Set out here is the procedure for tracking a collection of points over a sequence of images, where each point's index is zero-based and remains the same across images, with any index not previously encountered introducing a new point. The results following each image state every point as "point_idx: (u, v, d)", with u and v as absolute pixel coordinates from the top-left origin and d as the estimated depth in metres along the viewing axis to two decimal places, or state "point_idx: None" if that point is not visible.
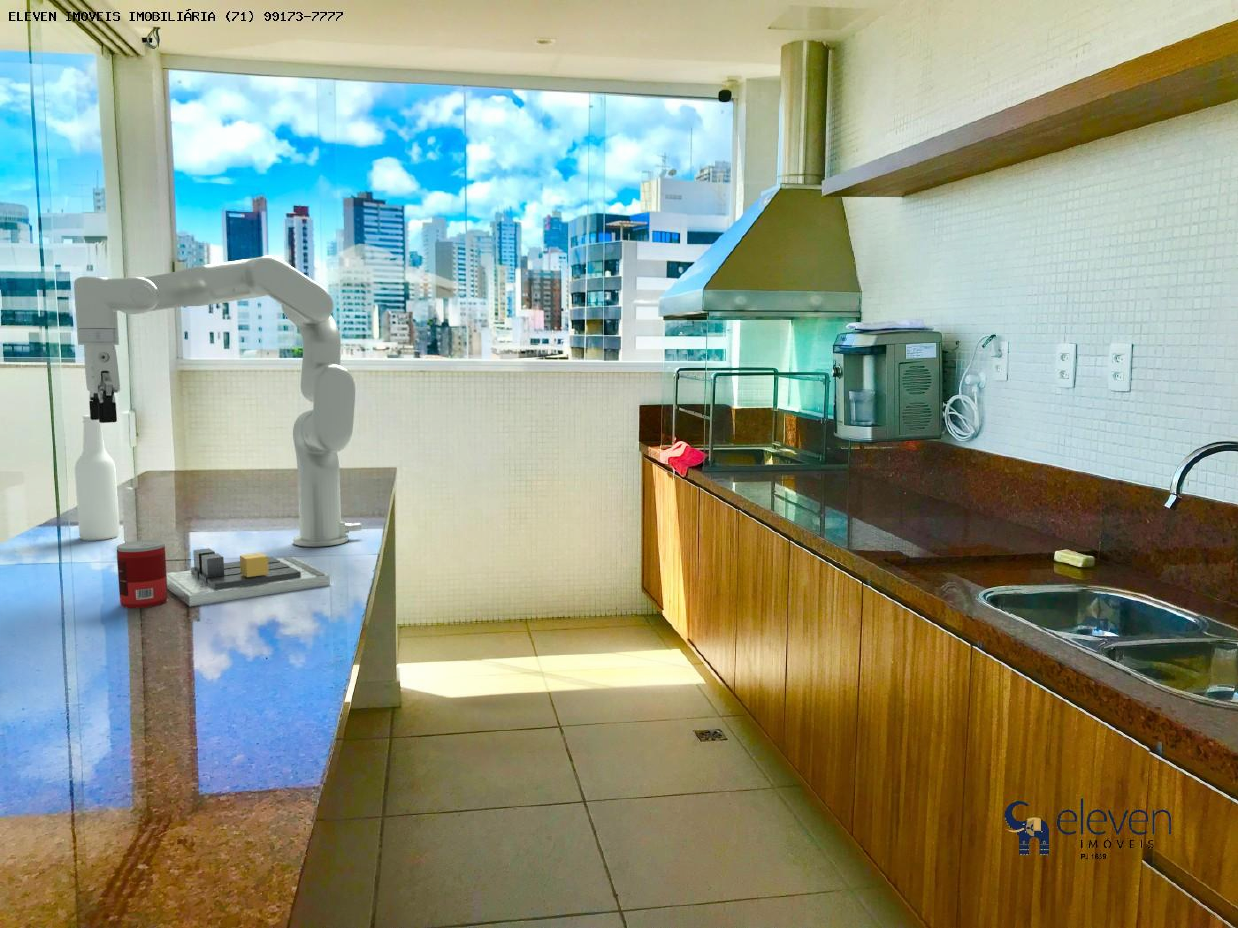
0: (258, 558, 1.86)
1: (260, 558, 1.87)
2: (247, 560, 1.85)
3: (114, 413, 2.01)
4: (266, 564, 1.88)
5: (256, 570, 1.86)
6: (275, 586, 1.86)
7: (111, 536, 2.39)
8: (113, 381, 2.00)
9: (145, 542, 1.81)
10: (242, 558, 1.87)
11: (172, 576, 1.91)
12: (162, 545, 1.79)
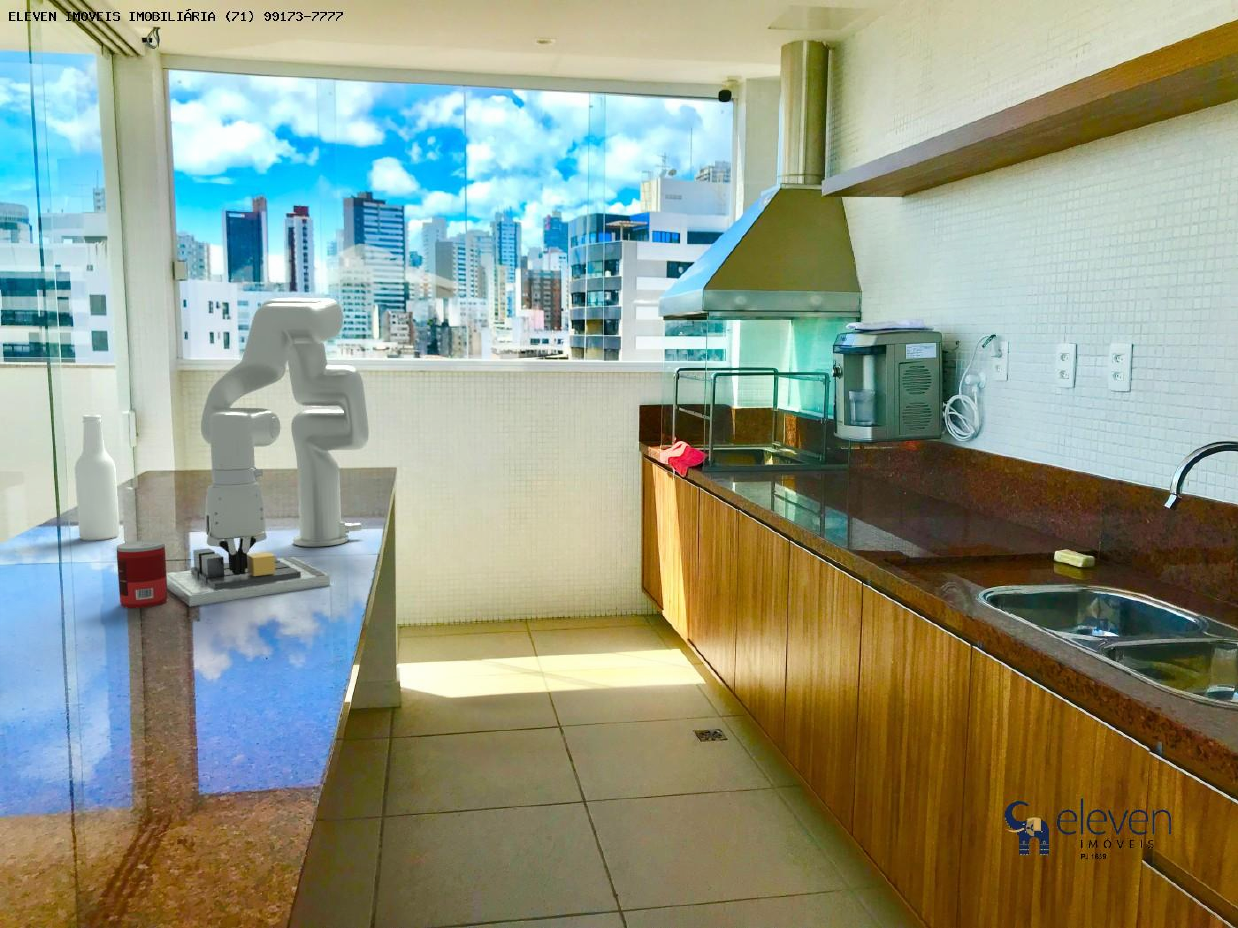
0: (265, 557, 1.87)
1: (267, 557, 1.87)
2: (254, 559, 1.86)
3: None
4: (273, 563, 1.88)
5: (263, 569, 1.87)
6: (275, 586, 1.86)
7: (111, 536, 2.39)
8: None
9: (145, 542, 1.81)
10: (249, 557, 1.88)
11: (172, 576, 1.91)
12: (162, 545, 1.79)
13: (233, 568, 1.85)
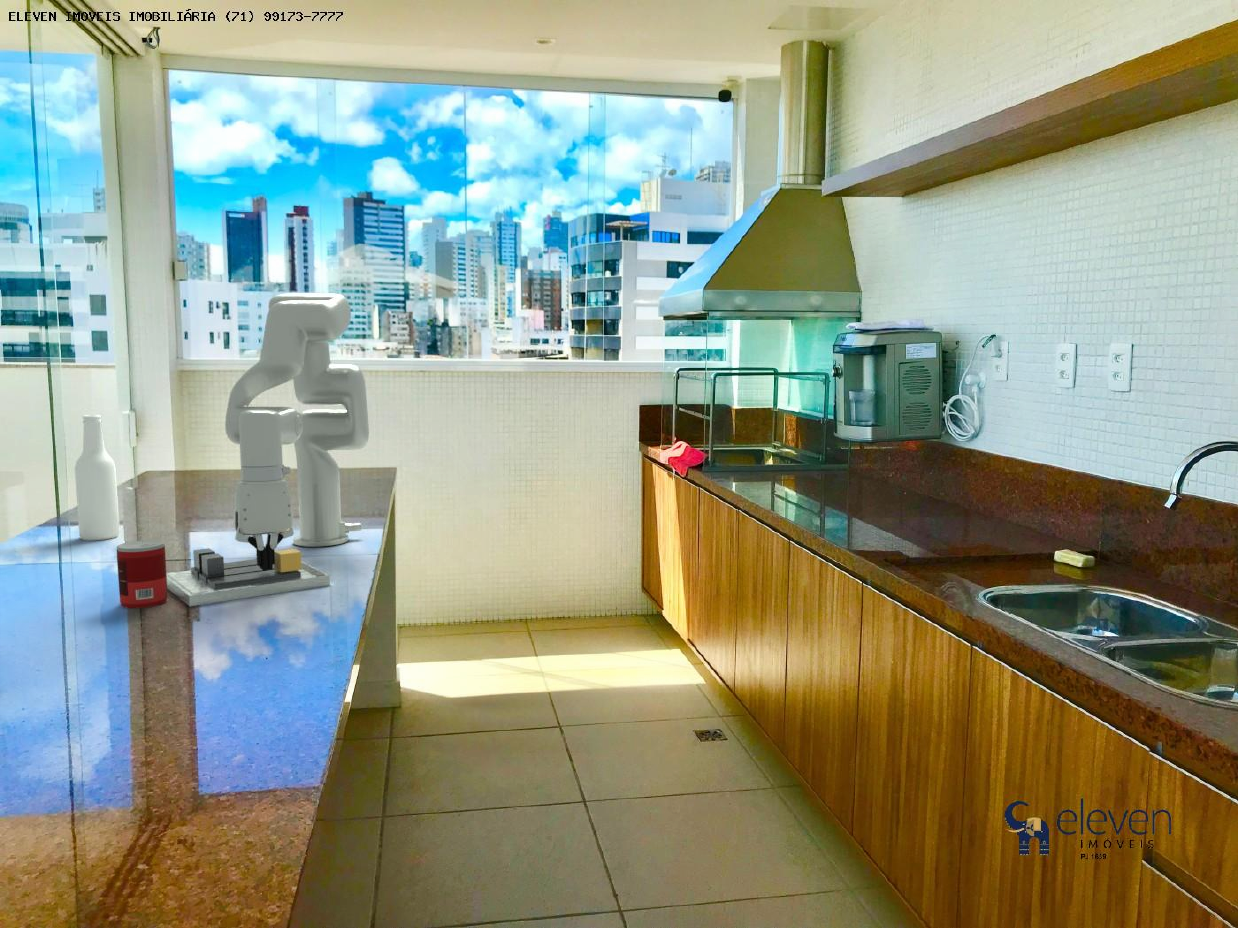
0: (292, 554, 1.90)
1: (294, 554, 1.91)
2: (281, 556, 1.89)
3: None
4: (299, 560, 1.91)
5: (290, 565, 1.90)
6: (275, 586, 1.86)
7: (111, 536, 2.39)
8: None
9: (145, 542, 1.81)
10: (276, 554, 1.91)
11: (172, 576, 1.91)
12: (162, 545, 1.79)
13: (261, 564, 1.88)
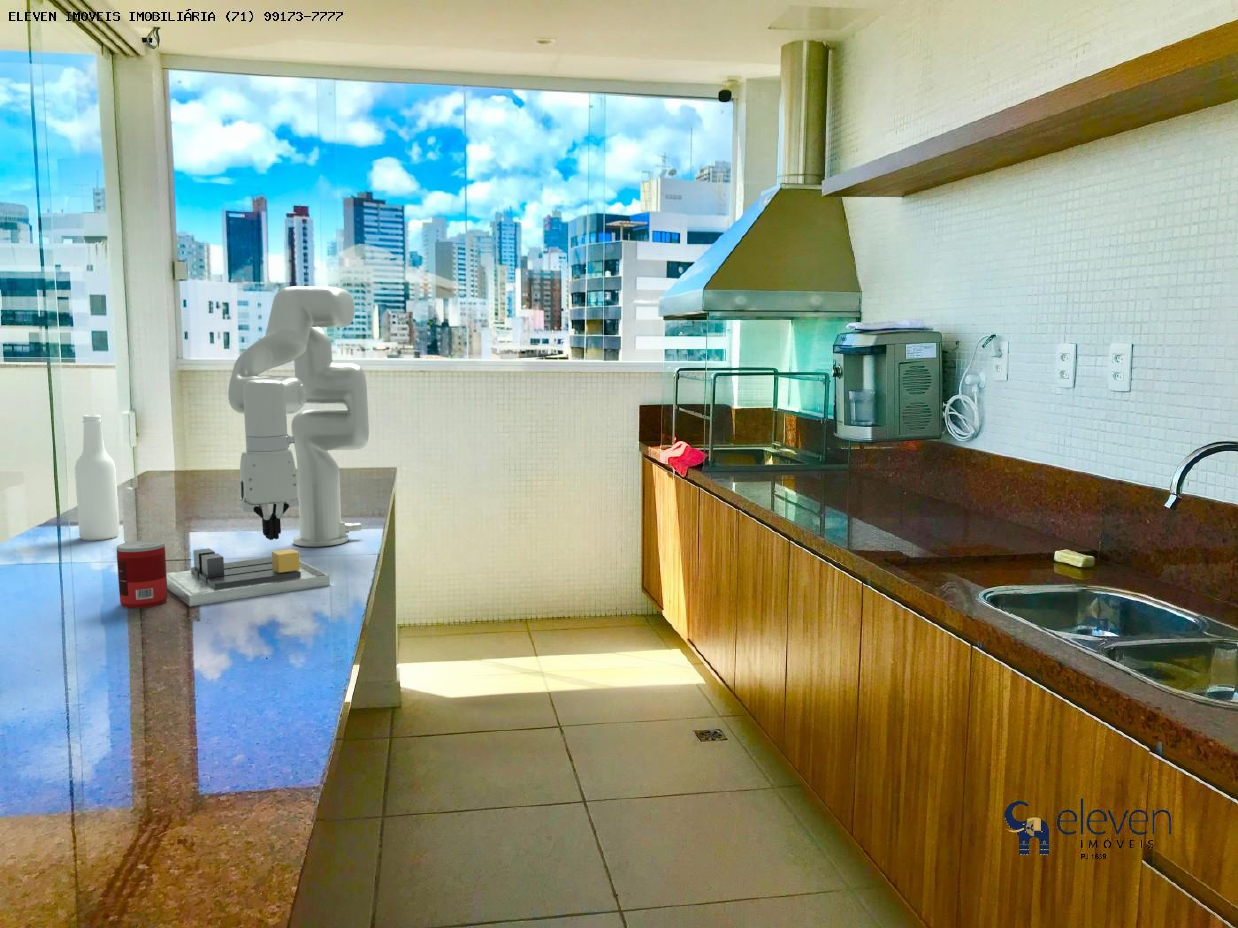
0: (290, 554, 1.90)
1: (292, 554, 1.90)
2: (279, 556, 1.89)
3: None
4: (297, 560, 1.91)
5: (288, 565, 1.90)
6: (275, 586, 1.86)
7: (111, 536, 2.39)
8: None
9: (145, 542, 1.81)
10: (274, 554, 1.91)
11: (172, 576, 1.91)
12: (162, 545, 1.79)
13: (267, 533, 1.89)
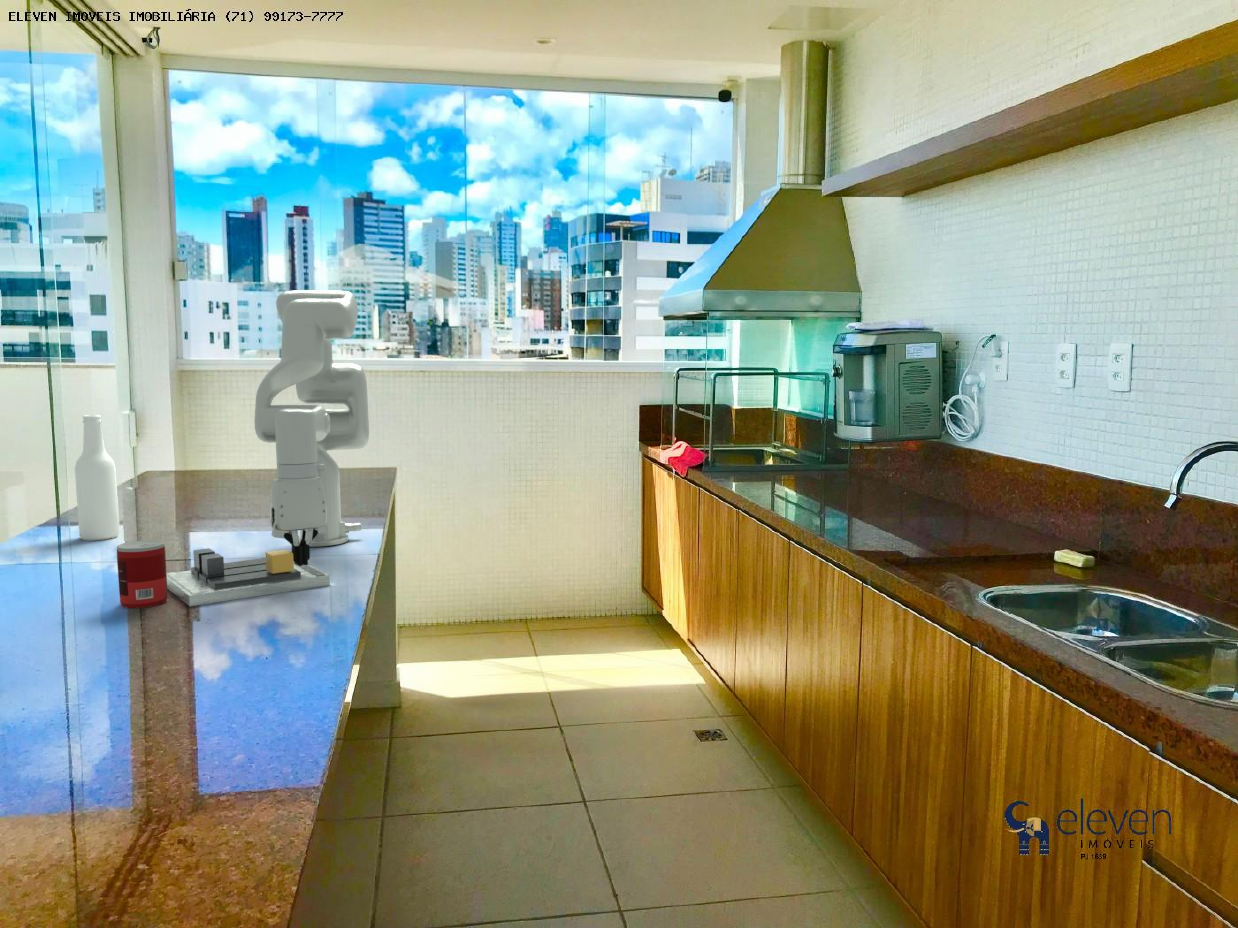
0: (284, 555, 1.89)
1: (286, 555, 1.90)
2: (273, 557, 1.88)
3: None
4: (291, 561, 1.90)
5: (282, 566, 1.89)
6: (275, 586, 1.86)
7: (111, 536, 2.39)
8: None
9: (145, 542, 1.81)
10: (268, 555, 1.90)
11: (172, 576, 1.91)
12: (162, 545, 1.79)
13: (296, 559, 1.92)
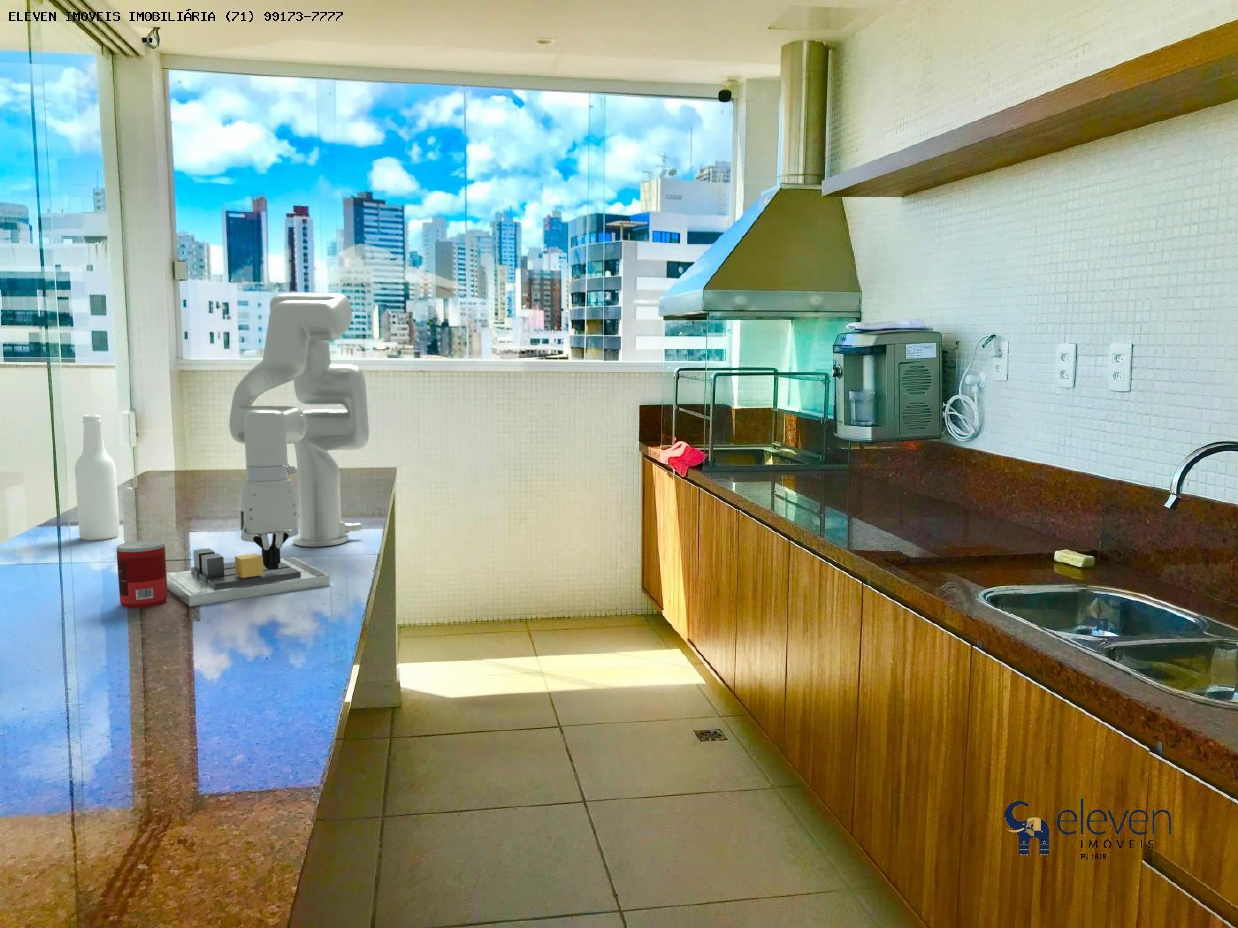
0: (253, 559, 1.86)
1: (255, 559, 1.86)
2: (242, 561, 1.85)
3: None
4: (261, 565, 1.87)
5: (251, 570, 1.86)
6: (275, 586, 1.86)
7: (111, 536, 2.39)
8: None
9: (145, 542, 1.81)
10: (237, 559, 1.86)
11: (172, 576, 1.91)
12: (162, 545, 1.79)
13: (266, 563, 1.89)
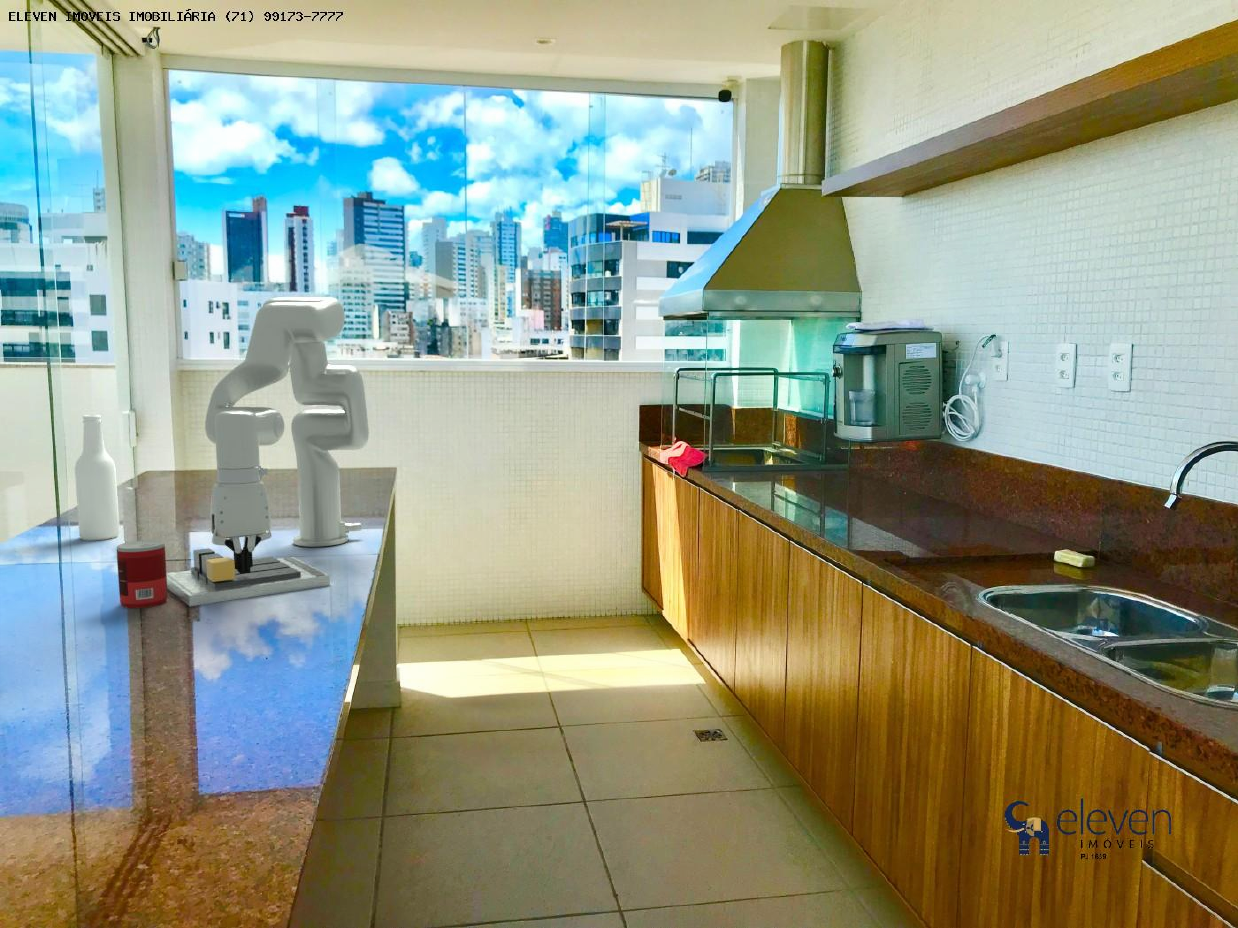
0: (224, 562, 1.83)
1: (226, 562, 1.83)
2: (213, 564, 1.82)
3: None
4: (233, 568, 1.84)
5: (223, 574, 1.83)
6: (275, 586, 1.86)
7: (111, 536, 2.39)
8: None
9: (145, 542, 1.81)
10: (208, 562, 1.83)
11: (172, 576, 1.91)
12: (162, 545, 1.79)
13: (238, 567, 1.86)
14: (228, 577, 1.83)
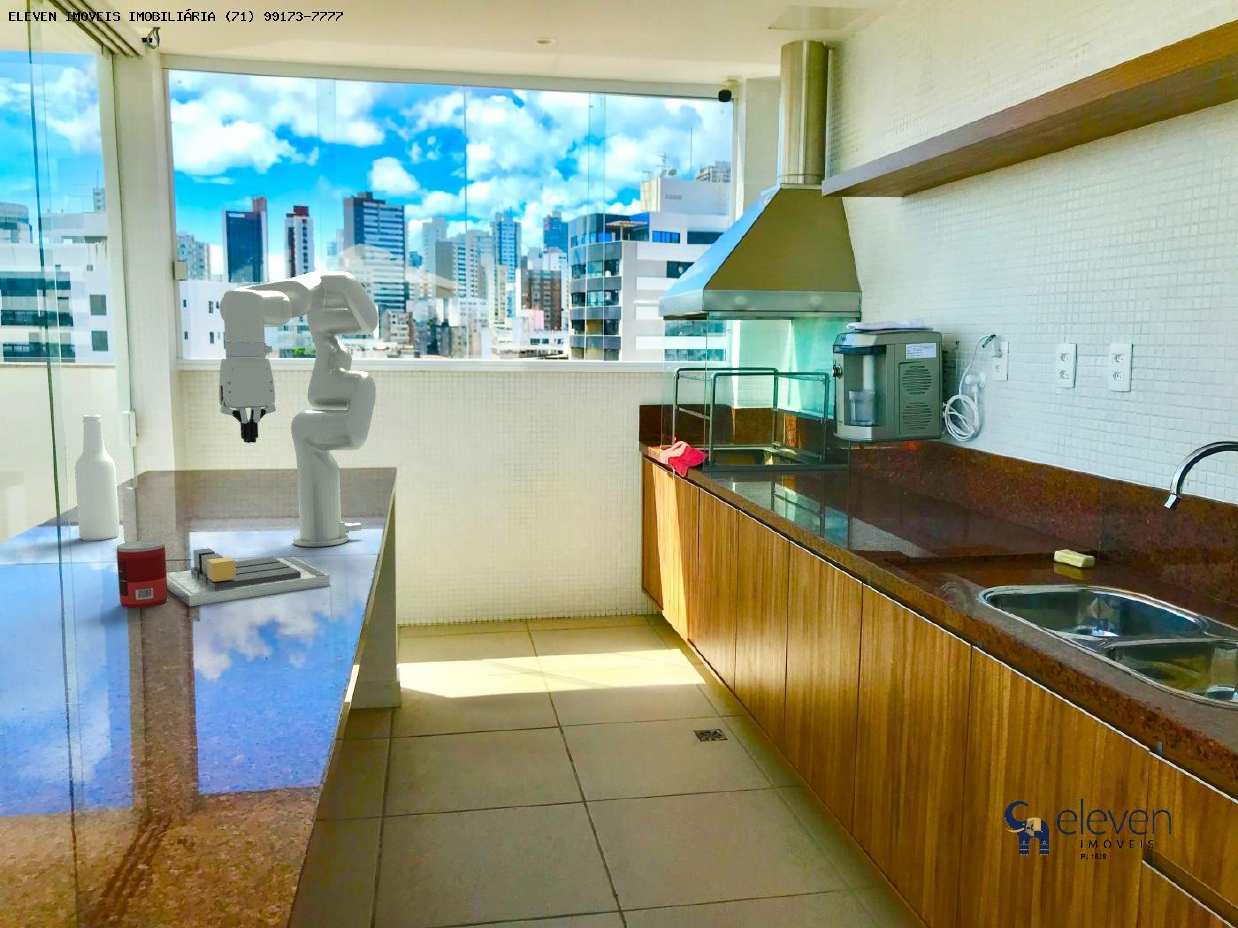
0: (225, 562, 1.83)
1: (227, 562, 1.83)
2: (214, 564, 1.82)
3: None
4: (233, 568, 1.84)
5: (223, 574, 1.83)
6: (275, 586, 1.86)
7: (111, 536, 2.39)
8: None
9: (145, 542, 1.81)
10: (209, 562, 1.83)
11: (172, 576, 1.91)
12: (162, 545, 1.79)
13: (245, 436, 2.00)
14: (229, 577, 1.84)
